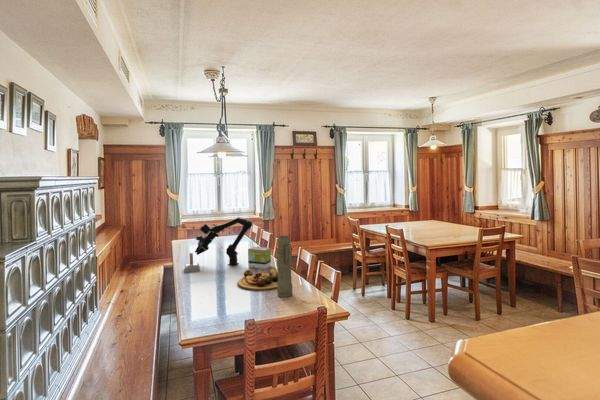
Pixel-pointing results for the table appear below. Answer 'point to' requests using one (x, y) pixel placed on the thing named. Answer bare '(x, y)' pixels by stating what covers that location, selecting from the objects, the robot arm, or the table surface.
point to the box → (192, 268)
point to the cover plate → (191, 260)
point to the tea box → (259, 257)
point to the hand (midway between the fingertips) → (195, 253)
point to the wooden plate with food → (259, 281)
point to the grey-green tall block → (284, 267)
